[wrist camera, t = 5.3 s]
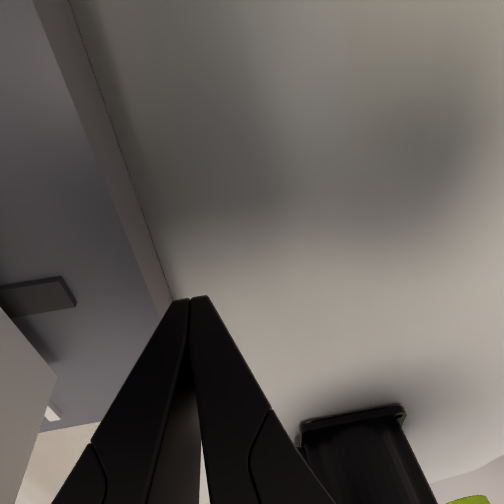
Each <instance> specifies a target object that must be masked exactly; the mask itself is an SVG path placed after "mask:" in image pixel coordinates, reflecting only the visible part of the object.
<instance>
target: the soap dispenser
mask: <svg viewBox="0 0 504 504" xmlns="http://www.w3.org/2000/svg"><path fill="white" fill-rule="evenodd" d="M447 504H490V503H489V501H488V499H487V498H486V497H485V496H482V495H476V496H469V497H465V498H461V499H457V500H454V501H452V502H449V503H447Z"/></svg>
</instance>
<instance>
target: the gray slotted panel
mask: <svg viewBox="0 0 504 504" xmlns="http://www.w3.org/2000/svg"><path fill="white" fill-rule="evenodd" d="M172 301H173V300H172V297H171V294H170V291H169V288H168V285H167V283H166V280H165V277H164V274H163V271H162V268H161V265H160V262H159V260H158V257H157V254H156V251H155V248H154V245H153V242H152V239H151V237H150V234H149V231H148V228H147V225H146V222H145V219H144V216H143V214H142V211H141V208H140V205H139V202H138V199H137V196H136V193H135V191H134V188H133V185H132V182H131V179H130V176H129V173H128V170H127V168H126V165H125V162H124V159H123V156H122V153H121V150H120V147H119V145H118V142H117V139H116V136H115V133H114V130H113V127H112V125H111V122H110V119H109V116H108V113H107V110H106V107H105V104H104V102H103V99H102V96H101V93H100V90H99V87H98V84H97V81H96V79H95V76H94V73H93V70H92V67H91V64H90V61H89V58H88V56H87V53H86V50H85V47H84V44H83V41H82V38H81V35H80V33H79V30H78V27H77V24H76V21H75V18H74V15H73V12H72V10H71V7H70V4H69V1H68V0H0V307H1V308H2V310H3V311H4V312H5V313H6V314H7V316H8V317H9V318H10V319H11V321H12V322H13V323H14V324H15V325H16V327H17V328H18V329H19V330H20V331H21V333H22V334H23V335H24V336H25V338H26V339H27V340H28V341H29V342H30V344H31V345H32V346H33V347H34V348H35V350H36V351H37V352H38V353H39V355H40V356H41V357H42V358H43V359H44V361H45V362H46V363H47V364H48V365H49V367H50V368H51V369H52V370H53V371H54V373H55V374H56V375H57V376H58V377H57V380H56V383H55V386H54V388H53V391H52V394H51V397H50V400H49V403H48V406H47V409H46V412H45V415H44V418H43V421H42V424H41V427H40V430H39V433H40V432H46V431H51V430H57V429H62V428H67V427H73V426H78V425H83V424H89V423H94V422H100V421H102V419H103V418H104V416H105V414H106V413H107V411H108V409H109V408H110V406H111V404H112V402H113V401H114V399H115V397H116V396H117V394H118V392H119V391H120V389H121V387H122V385H123V384H124V382H125V380H126V379H127V377H128V375H129V374H130V372H131V370H132V368H133V367H134V365H135V363H136V362H137V360H138V358H139V357H140V355H141V353H142V352H143V350H144V348H145V346H146V345H147V343H148V341H149V340H150V338H151V336H152V335H153V333H154V331H155V329H156V328H157V326H158V324H159V323H160V321H161V319H162V318H163V316H164V314H165V313H166V311H167V309H168V307H169V306H170V304H171V302H172Z"/></svg>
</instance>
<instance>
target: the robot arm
mask: <svg viewBox="0 0 504 504" xmlns="http://www.w3.org/2000/svg"><path fill="white" fill-rule="evenodd" d="M405 417H406V412H405V410H404V408H403V407H402V406H395V407H390V408H384V409H379V410H374V411H369V412H364V413H358V414H353V415H348V416H343V417H338V418H332V419H327V420H322V421H317V422H312V423H307V424H304V425H302V426H301V427H300V447H297V449H296V447H295V445H294V444H293V442H292V440H291V439H290V437H289V436H288V434H287V432H286V431H285V429H284V427H283V426H282V424H281V422H280V421H279V419H278V417H277V415H276V413H275V412H274V410H272V407H271V405H270V403H269V402H268V400H267V398H266V396H265V395H264V393H263V391H262V389H261V388H260V386H259V384H258V382H257V381H256V379H255V377H254V375H253V374H252V372H251V370H250V368H249V367H248V365H247V363H246V361H245V360H244V358H243V356H242V354H241V352H240V351H239V349H238V347H237V345H236V344H235V342H234V340H233V338H232V337H231V335H230V333H229V331H228V330H227V328H226V326H225V324H224V323H223V321H222V319H221V317H220V316H219V314H218V312H217V310H216V309H215V307H214V305H213V303H212V302H211V300H210V298H209V297H208V296H207V295H203V296H197V297H192V298H191V300H190V299H189V298H185V299H179V300H174V301H172V302H171V304H170V306H169V307H168V309H167V311H166V313H165V314H164V316H163V318H162V319H161V321H160V323H159V324H158V326H157V328H156V329H155V331H154V333H153V335H152V336H151V338H150V340H149V341H148V343H147V345H146V346H145V348H144V350H143V352H142V353H141V355H140V357H139V358H138V360H137V362H136V363H135V365H134V367H133V368H132V370H131V372H130V374H129V375H128V377H127V379H126V380H125V382H124V384H123V385H122V387H121V389H120V391H119V392H118V394H117V396H116V397H115V399H114V401H113V402H112V404H111V406H110V408H109V409H108V411H107V413H106V414H105V416H104V418H103V419H102V421H101V423H100V424H99V426H98V428H97V430H96V431H95V433H94V435H93V436H92V438H91V443H89V444H88V445H87V446H86V448H85V450H84V451H83V453H82V455H81V456H80V458H79V460H78V461H77V463H76V465H75V466H74V468H73V470H72V471H71V473H70V475H69V476H68V478H67V479H66V481H65V483H64V484H63V486H62V487H61V489H60V491H59V492H58V494H57V495H56V497H55V499H54V500H53V502H52V503H51V504H199V489H200V462H201V440H202V447H203V455H204V462H205V469H206V476H207V484H208V491H209V498H210V504H438V503H437V501H436V499H435V497H434V494H433V492H432V491H431V488H430V486H429V484H428V482H427V480H426V478H425V476H424V474H423V471H422V469H421V467H420V465H419V463H418V461H417V459H416V457H415V455H414V453H413V451H412V448H411V446H410V444H409V442H408V440H407V438H406V436H405V434H404V432H403V430H402V428H401V427H402V425H403V422H404V420H405Z"/></svg>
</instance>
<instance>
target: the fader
mask: <svg viewBox="0 0 504 504" xmlns="http://www.w3.org/2000/svg"><path fill="white" fill-rule="evenodd" d="M57 377H58V376H57V375H56V374H55V373H54V371H53V370H52V369H51V368H50V367H49V365H48V364H47V363H46V362H45V361H44V359H43V358H42V357H41V356H40V355H39V353H38V352H37V351H36V350H35V348H34V347H33V346H32V345H31V344H30V342H29V341H28V340H27V339H26V338H25V336H24V335H23V334H22V333H21V331H20V330H19V329H18V328H17V327H16V325H15V324H14V323H13V322H12V321H11V319H10V318H9V317H8V316H7V314H6V313H5V312H4V311H3V310H2V308H1V307H0V504H14V503H15V500H16V497H17V494H18V491H19V488H20V485H21V483H22V480H23V477H24V474H25V471H26V468H27V465H28V462H29V459H30V456H31V453H32V450H33V447H34V444H35V441H36V438H37V435H38V433H39V430H40V427H41V424H42V421H43V418H44V415H45V412H46V409H47V406H48V403H49V400H50V397H51V394H52V391H53V388H54V386H55V383H56V380H57Z"/></svg>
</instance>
